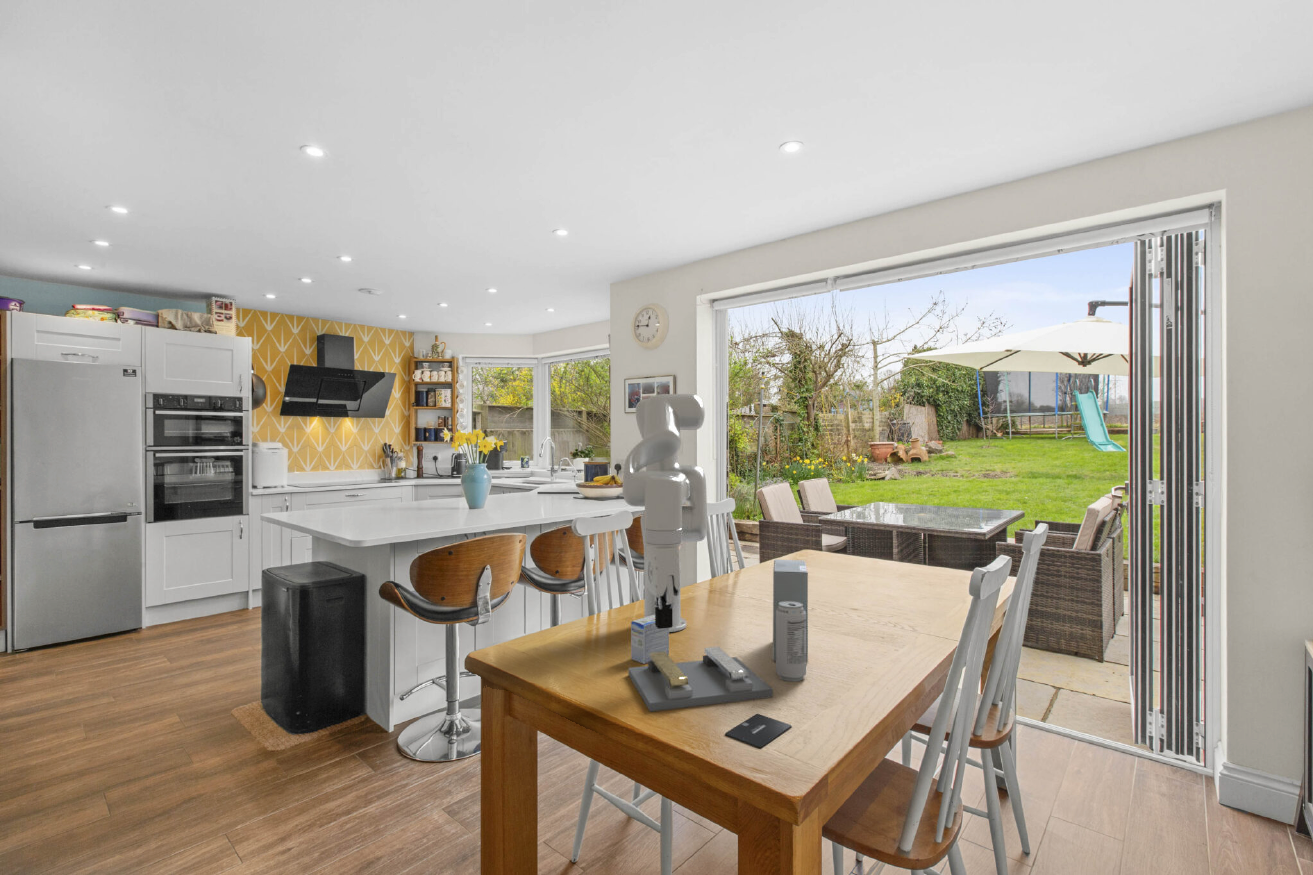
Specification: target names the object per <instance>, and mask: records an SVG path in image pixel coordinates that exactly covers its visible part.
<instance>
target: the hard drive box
mask: <svg viewBox="0 0 1313 875" xmlns="http://www.w3.org/2000/svg"><path fill="white" fill-rule="evenodd" d="M772 572H773V573H772V578H773V579H772V582H773V584H772V588H773V589H772V590H773V591H772V592H773V593H772V661H775V662H776V610H777V608H778V606H779V602H782V601H796V602H800V603H802V604H803V606H802V607H803V609H804V610H805V612H806V664H808V663H809V661H808V660H809V658H808V653H809V649H808V648H809V647H808V645H809V644H808V642H809V639H808V638H809V636H808V635H809V630H808V629H809V626H808V623H809V622H808V620H809V619H808V618H809V611H808V610H809V609H808V608H809V607H808V605H809V604H808V603H809V602H808V601H809V600H808V599H809V598H808V597H809V594H808V593H809V591H808V590H809V588H808V587H809V586H808V585H809V580H808V578H809V575H808V574H809V572H808V568H807V564H806V560H798V559H797V560H794V559H774V560H773V570H772Z"/></svg>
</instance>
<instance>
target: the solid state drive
mask: <svg viewBox="0 0 1313 875" xmlns="http://www.w3.org/2000/svg"><path fill="white" fill-rule="evenodd" d="M790 729H792V725H791V724H789V723H786V722H784V721H783V722H782V721H780V720H778V719H774V718H772V717H769V716H766V715H763V714H760V713H756V714H754V715H752V716H750V717H749V718H748V719H746V720H744V721H743V722H741V723H740V724H738V725H736V726H734V727H733V728H731V729H729V730H728V731H727V732H726V731H725V733H724V736H725V737H728V738H730V739H733V740H736V741H738V742H741V743H743V744H746V745H749V746H751V747H754V748H756V749H758V750H759V749H760V750H761V749H763V748H764V747H765V746H768V744H770V743H772V742H773V741H774V740H776V739H777V738H779V737H780V736H782V735H783V734H785V733H786V732H788V731H789V730H790Z"/></svg>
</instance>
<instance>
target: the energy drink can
mask: <svg viewBox="0 0 1313 875" xmlns="http://www.w3.org/2000/svg"><path fill="white" fill-rule="evenodd" d="M802 606H803V604H802V603H800V602H796V601H782V602H779V606H778V608H777V610H776V661H775V663H776V664H775V671H776V674H778V678H779V679H781V680H783V681H787V682H793V683H794V682H800V681H803V680H804V677H806V675H807V663H806V612H805V610H804V609H803V607H802Z"/></svg>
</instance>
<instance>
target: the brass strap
mask: <svg viewBox="0 0 1313 875" xmlns="http://www.w3.org/2000/svg"><path fill="white" fill-rule="evenodd" d="M650 658H651V659H652V661H653V662H654V664H655V665H656V666H657V668H658V669H659V670H660V672H661V673H662V674H663V676H664V677H665V679H666V680H667V681H668V683H669V684H670V687H677V686H686V685H688V677H687V676H685V675H684V674H683V673H682V671H681V670H680V669H679V668H678V667H677V665H676V664H675V663H676V662H674V661H673V659H672V658H671V656H669V655H668V654H667V653H666V652H665V651H664V652H654V653H650Z"/></svg>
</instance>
